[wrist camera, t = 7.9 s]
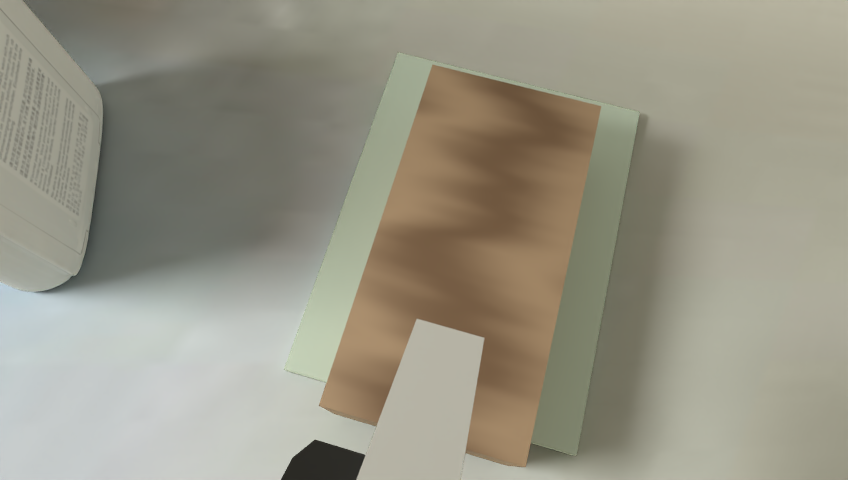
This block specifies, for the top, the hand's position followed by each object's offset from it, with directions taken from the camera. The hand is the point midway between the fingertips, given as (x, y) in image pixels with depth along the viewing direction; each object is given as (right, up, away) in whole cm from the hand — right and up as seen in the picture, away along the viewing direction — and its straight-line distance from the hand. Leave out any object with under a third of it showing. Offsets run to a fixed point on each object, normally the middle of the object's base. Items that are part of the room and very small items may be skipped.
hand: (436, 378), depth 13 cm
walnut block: (0, -4, +8) cm, 9 cm away
